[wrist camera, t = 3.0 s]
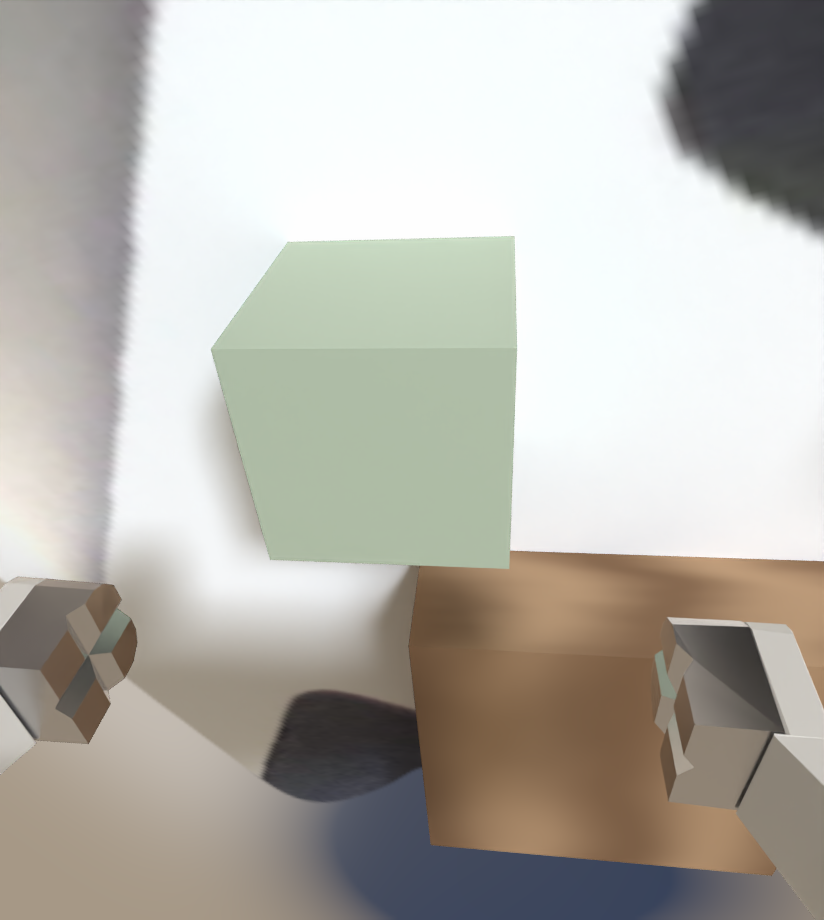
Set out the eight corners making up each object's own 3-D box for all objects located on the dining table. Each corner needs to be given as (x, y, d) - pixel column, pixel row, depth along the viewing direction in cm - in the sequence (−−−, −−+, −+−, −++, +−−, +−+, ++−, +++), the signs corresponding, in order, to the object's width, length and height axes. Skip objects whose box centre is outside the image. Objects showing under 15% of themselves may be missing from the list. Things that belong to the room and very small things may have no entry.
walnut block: (439, 743, 28) (430, 845, 25) (423, 538, 21) (408, 646, 18) (740, 764, 26) (771, 875, 23) (838, 551, 19) (903, 671, 16)
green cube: (322, 424, 18) (270, 559, 14) (288, 240, 15) (210, 349, 11) (508, 426, 17) (509, 569, 13) (514, 234, 14) (516, 348, 10)
